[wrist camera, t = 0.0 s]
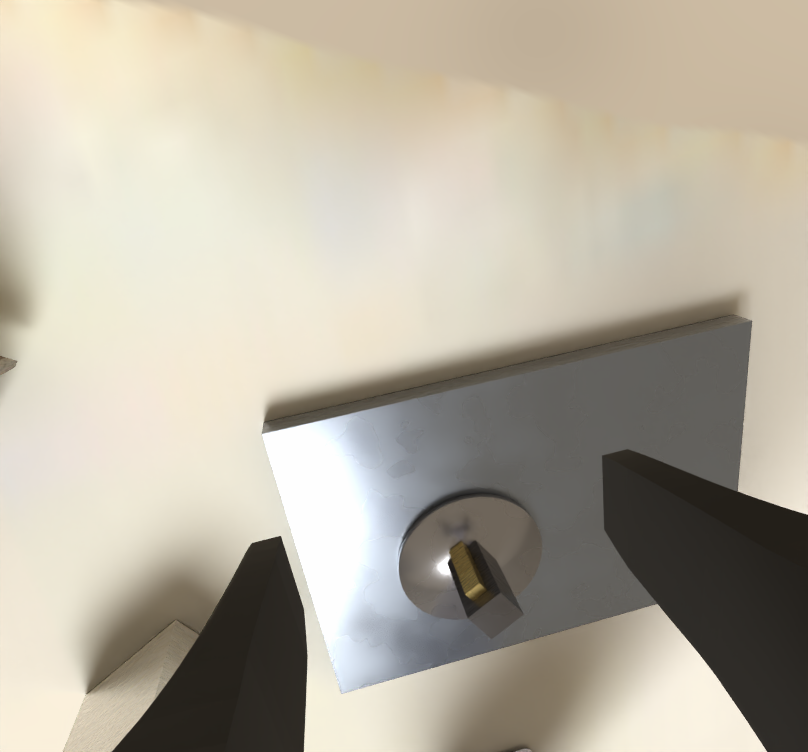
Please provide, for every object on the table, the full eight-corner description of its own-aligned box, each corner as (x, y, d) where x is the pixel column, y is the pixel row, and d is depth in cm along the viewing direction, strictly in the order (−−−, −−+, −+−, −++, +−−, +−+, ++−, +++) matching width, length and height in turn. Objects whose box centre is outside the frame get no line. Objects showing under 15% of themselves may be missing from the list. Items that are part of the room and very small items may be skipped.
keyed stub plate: (715, 569, 28) (786, 638, 24) (340, 675, 26) (347, 770, 22) (734, 314, 23) (829, 347, 19) (263, 422, 21) (254, 485, 17)
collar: (269, 679, 26) (263, 791, 21) (184, 747, 26) (160, 871, 22) (175, 619, 23) (146, 730, 19) (85, 695, 24) (34, 820, 19)
